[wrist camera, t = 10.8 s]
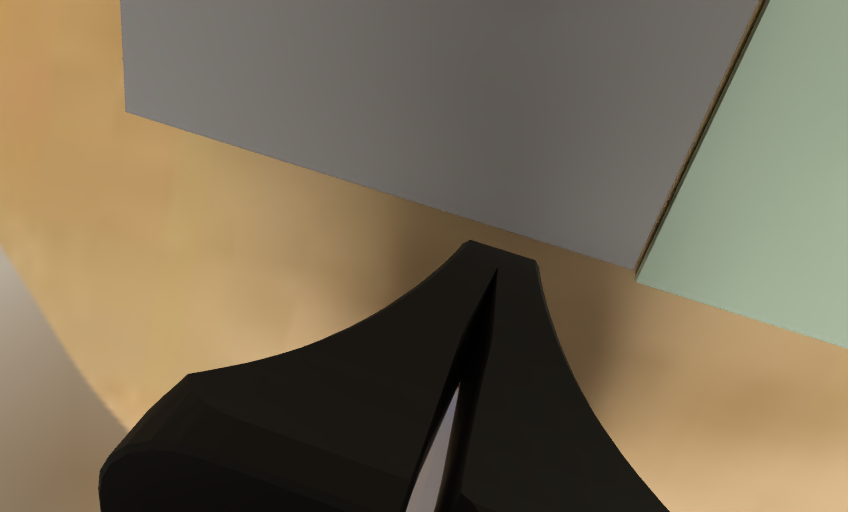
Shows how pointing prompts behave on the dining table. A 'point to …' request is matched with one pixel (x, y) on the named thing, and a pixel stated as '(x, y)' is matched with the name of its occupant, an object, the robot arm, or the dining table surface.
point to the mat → (769, 182)
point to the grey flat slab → (452, 99)
